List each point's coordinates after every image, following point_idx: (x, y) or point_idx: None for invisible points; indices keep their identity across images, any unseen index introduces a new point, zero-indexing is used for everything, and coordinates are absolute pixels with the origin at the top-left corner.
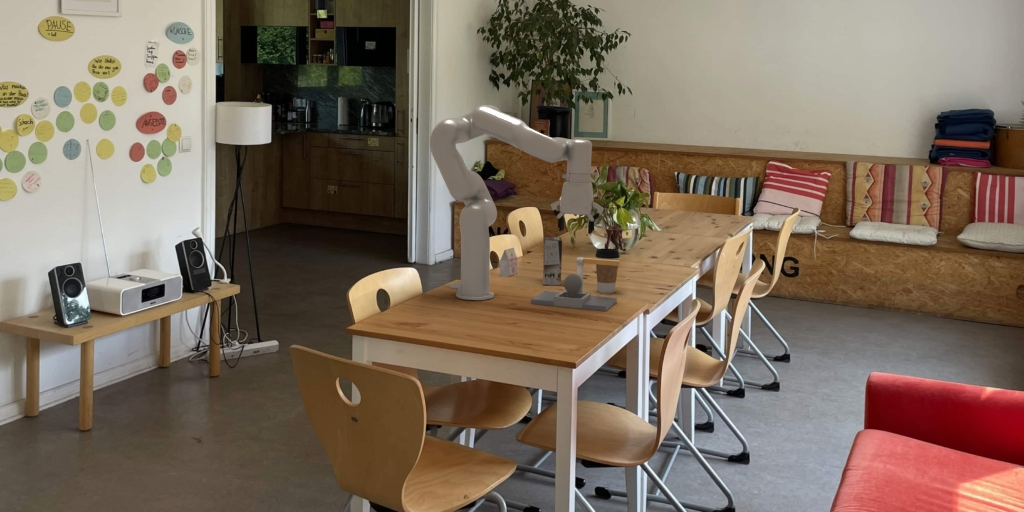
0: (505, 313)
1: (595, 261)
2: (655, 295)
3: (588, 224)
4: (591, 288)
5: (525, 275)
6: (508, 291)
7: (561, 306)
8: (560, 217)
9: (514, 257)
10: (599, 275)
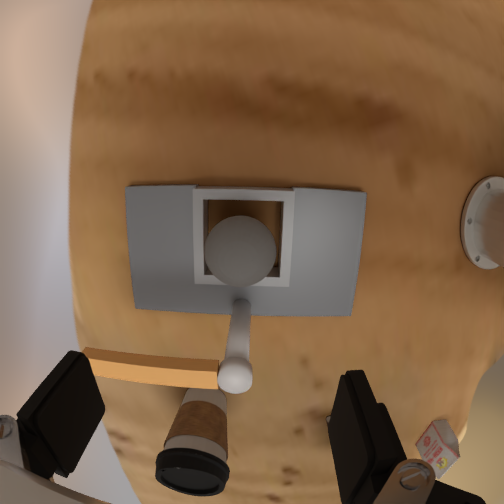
0: (386, 57)
1: (166, 363)
2: (100, 389)
3: (49, 401)
4: (248, 415)
5: (401, 444)
6: (435, 312)
7: (266, 187)
8: (390, 476)
9: (432, 462)
10: (212, 416)
